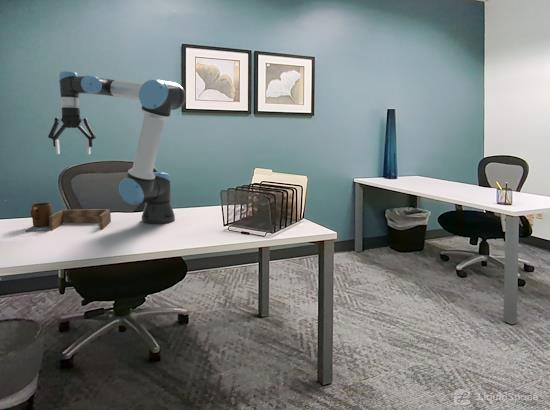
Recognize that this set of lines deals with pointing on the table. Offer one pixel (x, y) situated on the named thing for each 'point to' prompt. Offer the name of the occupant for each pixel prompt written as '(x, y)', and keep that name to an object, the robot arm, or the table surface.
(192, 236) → the table surface
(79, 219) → the brown wooden u-shaped piece
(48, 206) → the mug
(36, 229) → the mat
